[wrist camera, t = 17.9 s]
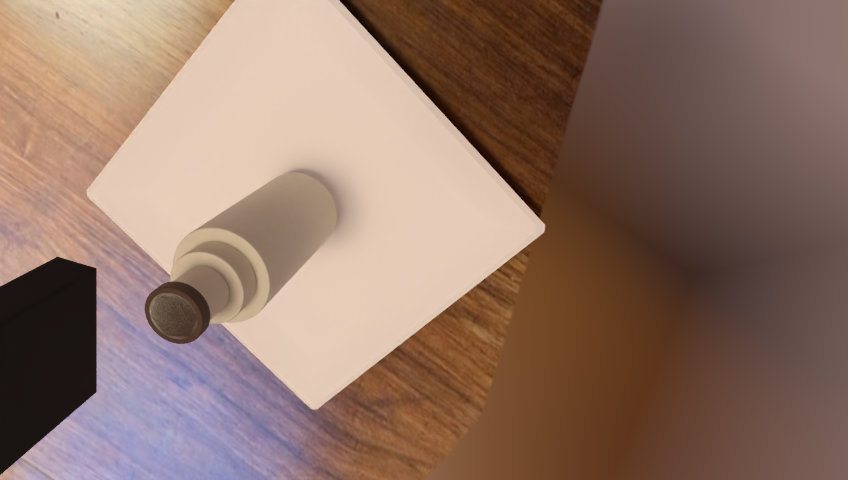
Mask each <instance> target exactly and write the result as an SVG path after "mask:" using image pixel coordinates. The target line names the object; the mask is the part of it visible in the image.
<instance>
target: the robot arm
mask: <svg viewBox="0 0 848 480" xmlns="http://www.w3.org/2000/svg"><path fill="white" fill-rule="evenodd" d="M95 393H96V268H93V267H90V266H86V265H83V264H80V263H76V262H73V261H70V260H66V259H63V258H60V257H56V258H54V259H53V260H51V261H49V262H47V263H45V264H43V265H41V266H39V267H37V268H35V269H33V270H31V271H29V272H27V273H26V274H24V275H22V276H20V277H18V278H16V279H14V280H12V281H10V282H8V283H6V284H4V285H2V286H1V287H0V475H1V474H2V473H3V472H4V471H5V470H6V469H8V468H9V467H10V466H11V465H12V464H13V463H14V462H16V461H17V460H18V459H19V458H20V457H21V456H23V455H24V454H25V453H26V452H27V451H28V450H30V449H31V448H32V447H33V446H34V445H35V444H37V443H38V442H39V441H40V440H41V439H42V438H44V437H45V436H46V435H47V434H48V433H49V432H50V431H52V430H53V429H54V428H55V427H56V426H57V425H59V424H60V423H61V422H62V421H63V420H64V419H66V418H67V417H68V416H69V415H70V414H71V413H73V412H74V411H75V410H76V409H77V408H78V407H79V406H81V405H82V404H83V403H84V402H85V401H86V400H88V399H89V398H90V397H91V396H92V395H93V394H95Z"/></svg>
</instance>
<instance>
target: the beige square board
mask: <svg viewBox="0 0 848 480" xmlns="http://www.w3.org/2000/svg"><path fill="white" fill-rule="evenodd" d="M293 172H295V173H302V174H306V175H309V176H311V177H313V178H315V179H316V180H318V181H319V182H321V183H322V184H323V185H324V186H325V187H326V188H327V190H328V191H329V192H330V194H331V196H332V197H333V200H334V202H335V205H336V210H337V222H336V226H335V229H334V231H333V233H332V234H331V236H330V237H329V238H328V239H327V240H326V241H325V243H324V244H323V245H322V246H321V247H320V248H319V249H318V250H317V251H316V252H315V253H314V254H313V255H312V257H311V258H310V259H309V260H308V261H307V262H306V263H305V264H304V265H303V266H302V267H301V268H300V269H299V270H298V272H297V273H296V274H295V275H294V276H293V277H292V278H291V279H290V280H289V281H288V282H287V283H286V284H285V285H284V287H283V288H282V289H281V290H280V291H279V292H278V293H277V294H276V295H275V296H274V297H273V298H272V299H271V301H270V302H269V303H268V304H267V305H266V306H265V307H264V308H263V309H262V310H261V311H260V312H259V313H258V314H257V315H256V316H254V317H252V318H250V319H248V320H246V321H242V322H236V323H227V322H224V323H221V324H222V325H223V326H224V327H225V328H226V329H227V330H228V331H229V332H231V333H232V334H233V335H234V336H235V337H236V338H237V339H238V340H239V341H240V342H241V343H242V344H243V345H244V346H245V347H246V348H247V349H248V350H249V351H251V352H252V353H253V354H254V355H255V356H256V357H257V358H258V359H259V360H260V361H261V362H262V363H263V364H264V365H265V366H266V367H267V368H268V369H269V370H271V371H272V372H273V373H274V374H275V375H276V376H277V377H278V378H279V379H280V380H281V381H282V382H283V383H284V384H285V385H286V386H287V387H288V388H289V389H291V390H292V391H293V392H294V393H295V394H296V395H297V396H298V397H299V398H300V399H301V400H302V401H303V402H304V403H305V404H306V405H307V406H308V407H309V408H311V409H316V410H317V409H318V408H319V407H320V406H322V405H323V404H324V403H326V402H327V401H328V400H329V399H331V398H332V397H333V396H335V395H336V394H337V393H338V392H340V391H341V390H342V389H344V388H345V387H346V386H347V385H349V384H350V383H351V382H353V381H354V380H355V379H356V378H358V377H359V376H360V375H362V374H363V373H364V372H365V371H367V370H368V369H369V368H371V367H372V366H373V365H374V364H376V363H377V362H378V361H380V360H381V359H382V358H383V357H385V356H386V355H387V354H389V353H390V352H391V351H392V350H394V349H395V348H396V347H398V346H399V345H400V344H401V343H403V342H404V341H405V340H406V339H408V338H409V337H410V336H412V335H413V334H414V333H415V332H417V331H418V330H419V329H421V328H422V327H423V326H424V325H426V324H427V323H428V322H430V321H431V320H432V319H433V318H435V317H436V316H437V315H439V314H440V313H441V312H442V311H444V310H445V309H446V308H448V307H449V306H450V305H451V304H453V303H454V302H455V301H457V300H458V299H459V298H460V297H462V296H463V295H464V294H466V293H467V292H468V291H469V290H471V289H472V288H473V287H475V286H476V285H477V284H478V283H480V282H481V281H482V280H484V279H485V278H486V277H487V276H489V275H490V274H491V273H493V272H494V271H495V270H496V269H498V268H499V267H500V266H502V265H503V264H504V263H505V262H507V261H508V260H509V259H511V258H512V257H513V256H514V255H516V254H517V253H518V252H520V251H521V250H522V249H523V248H525V247H526V246H527V245H529V244H530V243H531V242H532V241H534V240H535V239H536V238H538V237H539V236H540V235H541V234H543V233H544V231H545V224H544V223H543V222H542V221H541V220H540V219H539V218H538V217H537V216H536V215H535V213H534V212H533V211H532V210H531V209H530V208H529V207H528V206H527V205H526V204H525V203H524V201H523V200H522V199H521V198H520V197H519V196H518V195H517V194H516V193H515V192H514V191H513V189H512V188H511V187H510V186H509V185H508V184H507V183H506V182H505V181H504V180H503V179H502V177H501V176H500V175H499V174H498V173H497V172H496V171H495V170H494V169H493V168H492V167H491V165H490V164H489V163H488V162H487V161H486V160H485V159H484V158H483V157H482V156H481V155H480V153H479V152H478V151H477V150H476V149H475V148H474V147H473V146H472V145H471V144H470V143H469V141H468V140H467V139H466V138H465V137H464V136H463V135H462V134H461V133H460V132H459V131H458V129H457V128H456V127H455V126H454V125H453V124H452V123H451V122H450V121H449V120H448V119H447V117H446V116H445V115H444V114H443V113H442V112H441V111H440V110H439V109H438V108H437V107H436V105H435V104H434V103H433V102H432V101H431V100H430V99H429V98H428V97H427V96H426V95H425V93H424V92H423V91H422V90H421V89H420V88H419V87H418V86H417V85H416V84H415V83H414V81H413V80H412V79H411V78H410V77H409V76H408V75H407V74H406V73H405V72H404V71H403V69H402V68H401V67H400V66H399V65H398V64H397V63H396V62H395V61H394V60H393V59H392V57H391V56H390V55H389V54H388V53H387V52H386V51H385V50H384V49H383V48H382V47H381V45H380V44H379V43H378V42H377V41H376V40H375V39H374V38H373V37H372V36H371V35H370V33H369V32H368V31H367V30H366V29H365V28H364V27H363V26H362V25H361V24H360V23H359V21H358V20H357V19H356V18H355V17H354V16H353V15H352V14H351V13H350V12H349V11H348V9H347V8H346V7H345V6H344V5H343V4H342V3H341V2H340V1H339V0H235V1H234V2H233V3H232V5H231V6H230V7H229V9H228V10H227V11H226V12H225V14H224V15H223V16H222V18H221V19H220V20H219V21H218V23H217V24H216V25H215V27H214V28H213V29H212V30H211V32H210V33H209V34H208V35H207V37H206V38H205V39H204V41H203V42H202V43H201V44H200V46H199V47H198V48H197V50H196V51H195V52H194V53H193V55H192V56H191V57H190V59H189V60H188V61H187V62H186V64H185V65H184V66H183V68H182V69H181V70H180V71H179V73H178V74H177V75H176V77H175V78H174V79H173V80H172V82H171V83H170V84H169V86H168V87H167V88H166V89H165V91H164V92H163V93H162V94H161V96H160V97H159V98H158V100H157V101H156V102H155V103H154V105H153V106H152V107H151V109H150V110H149V111H148V112H147V114H146V115H145V116H144V118H143V119H142V120H141V121H140V123H139V124H138V125H137V127H136V128H135V129H134V130H133V132H132V133H131V134H130V136H129V137H128V138H127V139H126V141H125V142H124V143H123V144H122V146H121V147H120V148H119V150H118V151H117V152H116V153H115V155H114V156H113V157H112V159H111V160H110V161H109V162H108V164H107V165H106V166H105V168H104V169H103V170H102V171H101V173H100V174H99V175H98V177H97V178H96V179H95V180H94V182H93V183H92V184H91V186H90V187H89V188H88V189H87V195H88V198H90V199H91V200H92V201H93V202H94V203H95V204H96V205H97V206H98V207H99V208H100V209H101V210H102V211H103V212H104V213H105V214H106V215H107V216H108V217H110V218H111V219H112V220H113V221H114V222H115V223H116V224H117V225H118V226H119V227H120V228H121V229H122V230H123V231H124V232H125V233H126V234H127V235H128V236H130V237H131V238H132V239H133V240H134V241H135V242H136V243H137V244H138V245H139V246H140V247H141V248H142V249H143V250H144V251H145V252H146V253H147V254H148V255H150V256H151V257H152V258H153V259H154V260H155V261H156V262H157V263H158V264H159V265H160V266H161V267H162V268H163V269H164V270H165V271H166V272H167V273H168V274H170V275H171V271H172V268H173V258H174V254H175V251H176V248H177V246H178V245H179V243H180V242H181V240H182V239H183V238H184V237H185V236H187V235H188V234H189V233H191V232H192V231H194V230H195V229H197V228H198V227H200V226H202V225H203V224H205V223H206V222H208V221H209V220H211V219H212V218H214V217H215V216H217V215H219V214H220V213H222V212H223V211H225V210H226V209H228V208H229V207H231V206H232V205H234V204H236V203H237V202H239V201H240V200H242V199H243V198H245V197H246V196H248V195H249V194H251V193H253V192H254V191H256V190H257V189H259V188H260V187H262V186H263V185H265V184H267V183H268V182H270V181H271V180H273V179H274V178H276V177H278V176H280V175H282V174H285V173H293Z"/></svg>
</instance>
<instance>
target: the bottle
mask: <svg viewBox="0 0 848 480" xmlns="http://www.w3.org/2000/svg"><path fill="white" fill-rule="evenodd" d="M336 222H337V210H336V205H335V202H334V200H333V197H332V196H331V194H330V192H329V191H328V190H327V188H326V187H325V186H324V185H323V184H322V183H321V182H319V181H318V180H316V179H315V178H313V177H311V176H309V175H306V174H302V173H295V172H293V173H285V174H282V175H280V176H278V177H276V178H274V179H273V180H271V181H270V182H268V183H267V184H265V185H263V186H262V187H260V188H259V189H257V190H256V191H254V192H253V193H251V194H249V195H248V196H246V197H245V198H243V199H242V200H240V201H239V202H237V203H236V204H234V205H232V206H231V207H229V208H228V209H226V210H225V211H223V212H222V213H220V214H219V215H217V216H215V217H214V218H212V219H211V220H209V221H208V222H206V223H205V224H203V225H202V226H200V227H198V228H197V229H195V230H194V231H192V232H191V233H189V234H188V235H187V236H185V237H184V238H183V239H182V240H181V242H180V243H179V245H178V246H177V248H176V251H175V254H174V258H173V268H172V271H171V275H170V282H167V283H164V284H162V285H161V286H160V287H158V288H157V289H155V290H154V291H153V292H151V294H150V295H149V296H148V298H147V300H146V303H145V314H146V318H147V320H148V322H149V324H150V326H151V327H152V329H153V330H154V331H155V332H156V333H157V334H158V335H159V336H161V337H162V338H164V339H166V340H168V341H170V342H173V343H178V344H184V343H189V342H192V341H194V340H196V339H197V338H198V337H199V336H200V335H201V334H202V333H203V332H204V331H205V330H206V329H207V327H208V325H209V323H212V324H219V323H224V322H227V323H236V322H242V321H246V320H248V319H250V318H252V317H254V316H256V315H257V314H258V313H259V312H260V311H261V310H262V309H263V308H264V307H265V306H266V305H267V304H268V303H269V302H270V301H271V299H272V298H273V297H274V296H275V295H276V294H277V293H278V292H279V291H280V290H281V289H282V288H283V287H284V285H285V284H286V283H287V282H288V281H289V280H290V279H291V278H292V277H293V276H294V275H295V274H296V273H297V272H298V270H299V269H300V268H301V267H302V266H303V265H304V264H305V263H306V262H307V261H308V260H309V259H310V258H311V257H312V255H313V254H314V253H315V252H316V251H317V250H318V249H319V248H320V247H321V246H322V245H323V244H324V243H325V241H326V240H327V239H328V238H329V237H330V236H331V234H332V233H333V231H334V229H335V226H336Z"/></svg>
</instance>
